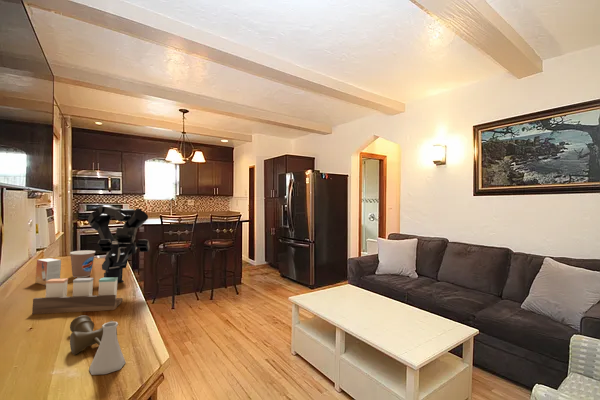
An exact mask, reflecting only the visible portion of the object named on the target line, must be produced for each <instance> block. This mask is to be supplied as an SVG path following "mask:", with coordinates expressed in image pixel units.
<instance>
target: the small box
mask: <svg viewBox="0 0 600 400" xmlns="http://www.w3.org/2000/svg"><path fill="white" fill-rule="evenodd" d="M61 269H62V259H56V258H52V257H51V258H50V257H48V258H41V259H37V260H36V269H35V271H36V272H35V282H34V283H35V284H39V285H43V286H46V281H47V280H50V279H61Z"/></svg>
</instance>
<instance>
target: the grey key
mask: <svg viewBox="0 0 600 400" xmlns="http://www.w3.org/2000/svg"><path fill="white" fill-rule="evenodd" d="M94 279H95V278H94V277H81V278H75V279H73V280H72V283H73V285H72V296H93V290H94V289H93V287H94Z"/></svg>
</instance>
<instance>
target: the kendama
mask: <svg viewBox="0 0 600 400" xmlns="http://www.w3.org/2000/svg"><path fill="white" fill-rule="evenodd" d="M109 322H114V320H109ZM94 328H95V323H94V321H93V320H92V319H91V317H90V316H89V315H79V316H77V317H75V318H73V319H72V321H71V322H70V325H69V329H70V331H71V334H70V337H69V348H70V351H71V354H72V355H74V356H77V355H78V354H79V353H81V352H82V351H83V350H85V349H86V348H88V347H89V346H92V345H95V344H96V345H98V346H99V345H100V343H101V340H102V336H103V328H102V327H100V328H99V329H95V330H94ZM117 328H118V327H117ZM117 328H116V334H117V335H118V330H117Z"/></svg>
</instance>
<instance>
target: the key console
mask: <svg viewBox="0 0 600 400" xmlns="http://www.w3.org/2000/svg"><path fill="white" fill-rule="evenodd" d="M122 302H123V297H117V296H116V295H92V296H73V295H72V296H67V297H47V298H45V297H34V298H33V299H32V308H31V310H32V312H31V313H32V315H37V314H38V315H40V314H42V315H43V314H56V313H59V314H61V313H77V312H79V313H80V312H96V311H97V312H98V311H113V310H114V311H115V309H116V308H117V307H119V306H120V304H121V303H122Z"/></svg>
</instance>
